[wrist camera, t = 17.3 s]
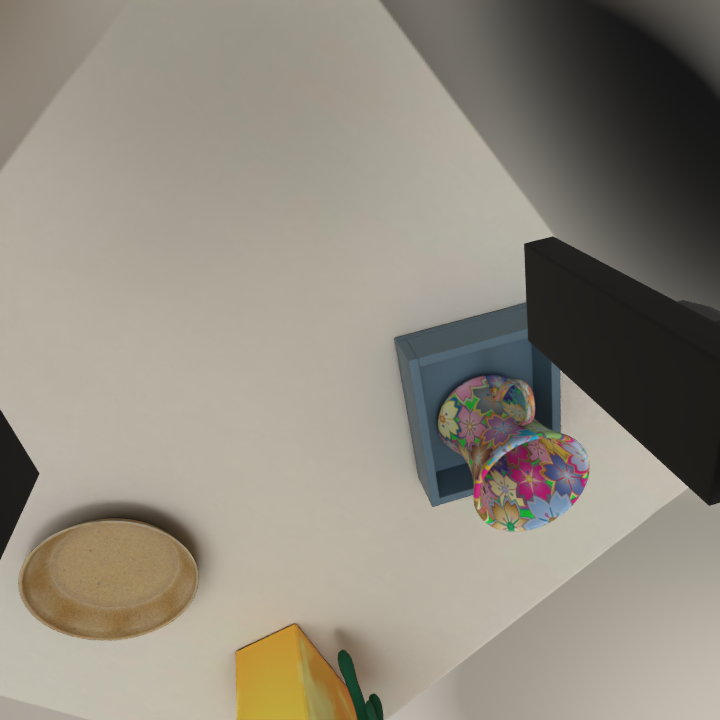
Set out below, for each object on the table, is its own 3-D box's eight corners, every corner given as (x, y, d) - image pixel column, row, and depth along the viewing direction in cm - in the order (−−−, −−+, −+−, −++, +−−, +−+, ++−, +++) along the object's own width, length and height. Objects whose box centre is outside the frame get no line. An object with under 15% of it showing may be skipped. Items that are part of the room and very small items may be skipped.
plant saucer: (169, 627, 57) (167, 650, 55) (9, 605, 52) (-1, 630, 49) (223, 520, 52) (222, 541, 50) (52, 483, 47) (43, 504, 44)
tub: (534, 300, 48) (560, 320, 45) (538, 442, 56) (561, 468, 52) (394, 337, 47) (408, 361, 43) (418, 477, 55) (432, 507, 51)
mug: (522, 442, 54) (582, 519, 45) (430, 460, 53) (473, 543, 44) (532, 330, 49) (603, 392, 40) (429, 347, 47) (478, 415, 38)
